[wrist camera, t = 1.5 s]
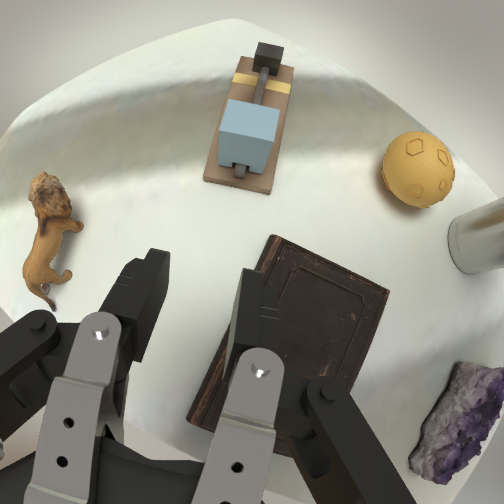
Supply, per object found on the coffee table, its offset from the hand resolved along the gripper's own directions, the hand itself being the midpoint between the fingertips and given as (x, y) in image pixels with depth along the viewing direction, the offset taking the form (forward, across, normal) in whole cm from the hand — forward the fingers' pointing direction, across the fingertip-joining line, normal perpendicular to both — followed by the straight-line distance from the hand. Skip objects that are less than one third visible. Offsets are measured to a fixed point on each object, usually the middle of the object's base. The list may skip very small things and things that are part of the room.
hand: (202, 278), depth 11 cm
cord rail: (+32, 0, -1) cm, 32 cm away
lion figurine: (+17, +20, +15) cm, 30 cm away
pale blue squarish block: (+26, 0, +2) cm, 26 cm away
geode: (+7, -38, +25) cm, 46 cm away
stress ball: (+30, -22, +2) cm, 37 cm away
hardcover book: (+13, -10, +20) cm, 25 cm away
